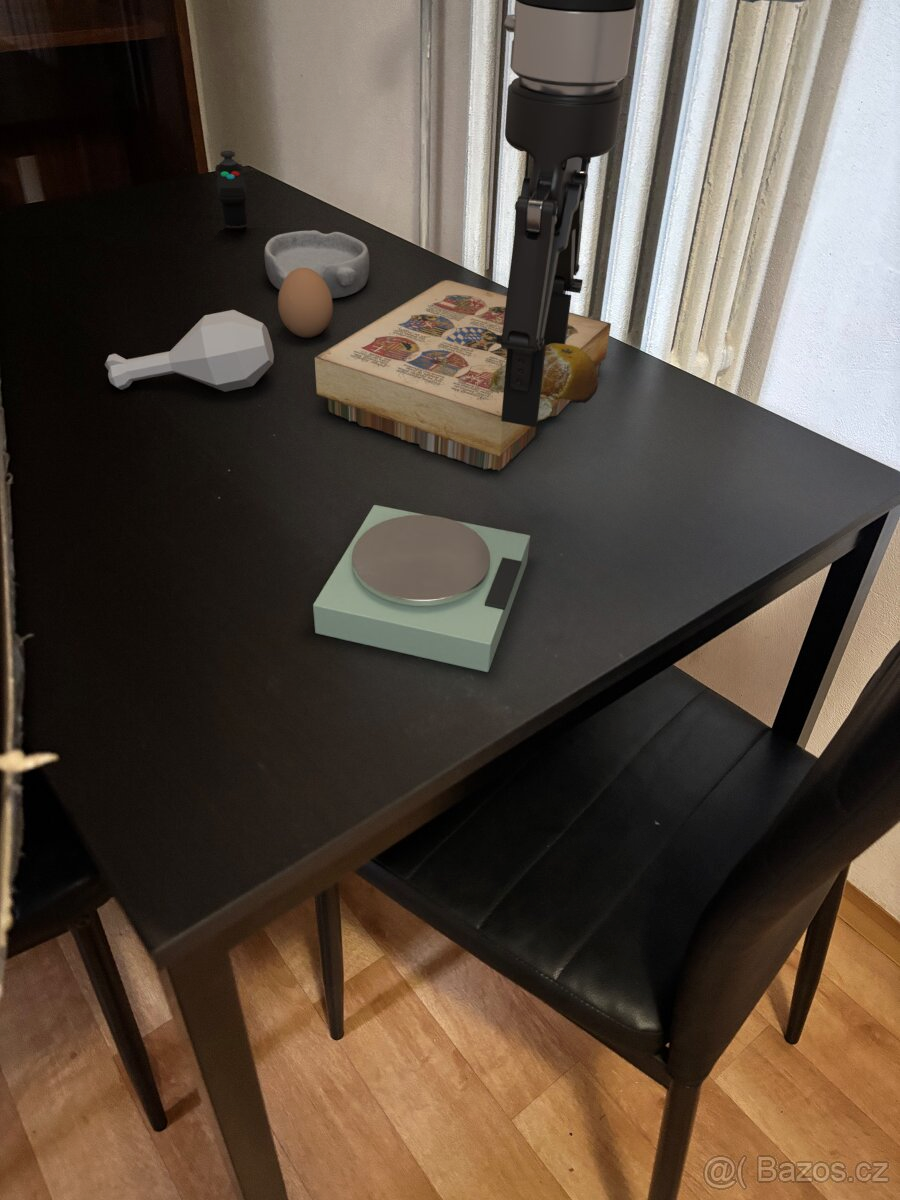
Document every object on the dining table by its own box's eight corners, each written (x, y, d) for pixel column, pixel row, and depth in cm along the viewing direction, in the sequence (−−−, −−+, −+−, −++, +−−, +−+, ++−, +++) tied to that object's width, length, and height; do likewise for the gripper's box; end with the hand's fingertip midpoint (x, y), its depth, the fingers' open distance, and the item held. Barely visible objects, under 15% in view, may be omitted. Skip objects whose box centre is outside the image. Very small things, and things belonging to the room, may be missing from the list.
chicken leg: (124, 369, 104) (89, 319, 97) (277, 339, 103) (254, 287, 96) (123, 428, 101) (87, 381, 93) (281, 398, 100) (258, 348, 92)
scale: (528, 562, 79) (531, 532, 77) (489, 673, 68) (492, 642, 66) (374, 531, 81) (373, 502, 79) (314, 633, 71) (312, 602, 69)
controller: (249, 215, 142) (241, 146, 135) (253, 244, 133) (245, 171, 126) (220, 216, 141) (212, 147, 135) (223, 245, 132) (214, 172, 126)
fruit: (480, 379, 76) (483, 337, 74) (567, 364, 79) (572, 324, 76) (525, 426, 70) (529, 383, 68) (617, 409, 73) (624, 367, 71)
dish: (366, 305, 118) (365, 267, 115) (259, 301, 118) (255, 263, 114) (373, 263, 129) (372, 227, 126) (275, 260, 129) (272, 223, 125)
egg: (345, 333, 112) (342, 267, 106) (310, 352, 107) (306, 284, 102) (304, 320, 114) (299, 254, 109) (269, 337, 110) (263, 270, 105)
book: (431, 318, 116) (296, 405, 98) (432, 268, 112) (292, 350, 94) (608, 369, 108) (497, 476, 89) (617, 317, 103) (503, 418, 85)
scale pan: (503, 534, 76) (504, 529, 75) (470, 619, 68) (470, 613, 67) (379, 510, 78) (378, 504, 77) (331, 589, 70) (331, 583, 69)
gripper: (545, 46, 68) (519, 333, 82) (464, 111, 52) (450, 451, 67) (646, 55, 66) (601, 346, 81) (594, 126, 50) (550, 471, 65)
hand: (533, 393), depth 74 cm, fingers closed on fruit, 9 cm apart
